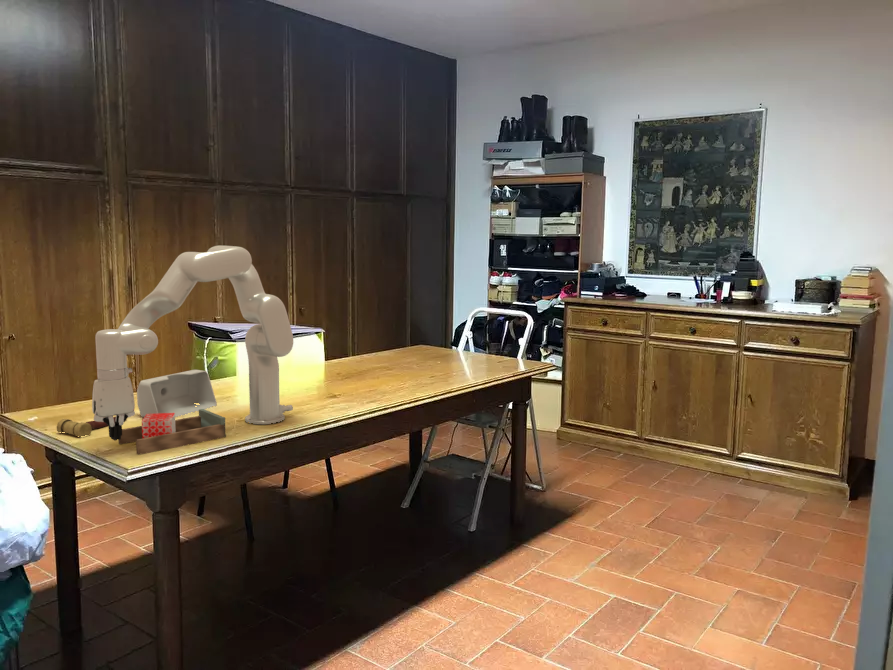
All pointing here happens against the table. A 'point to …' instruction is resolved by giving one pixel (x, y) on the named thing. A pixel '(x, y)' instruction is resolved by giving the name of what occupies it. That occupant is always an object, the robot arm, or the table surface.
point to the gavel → (79, 427)
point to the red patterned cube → (158, 424)
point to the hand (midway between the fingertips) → (115, 438)
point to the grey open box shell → (176, 393)
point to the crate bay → (178, 433)
